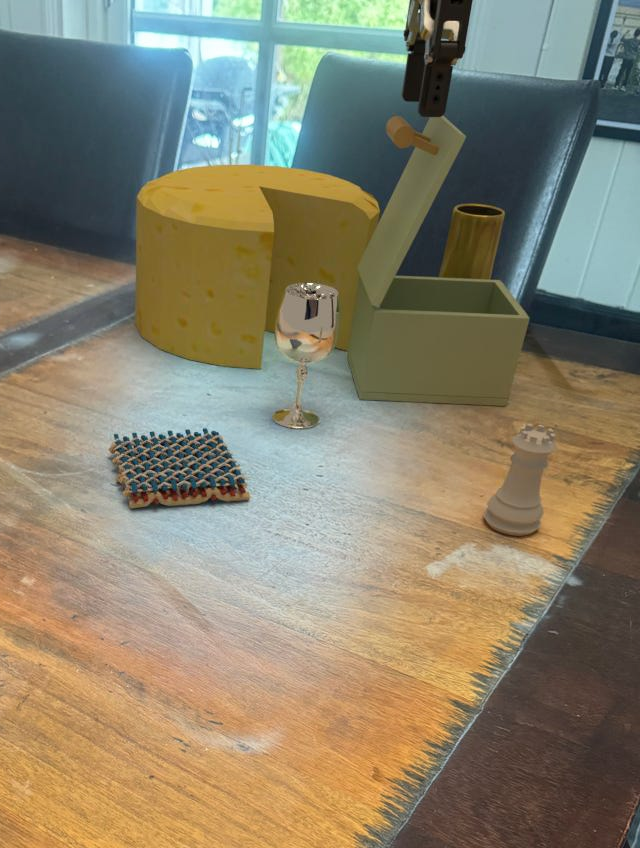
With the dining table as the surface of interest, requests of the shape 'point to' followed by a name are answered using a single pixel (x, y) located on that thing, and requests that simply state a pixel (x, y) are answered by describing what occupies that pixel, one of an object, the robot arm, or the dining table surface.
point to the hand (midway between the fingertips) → (421, 108)
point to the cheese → (242, 255)
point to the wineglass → (305, 339)
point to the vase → (472, 242)
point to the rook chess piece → (522, 484)
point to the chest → (437, 341)
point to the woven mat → (177, 469)
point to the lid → (408, 199)
